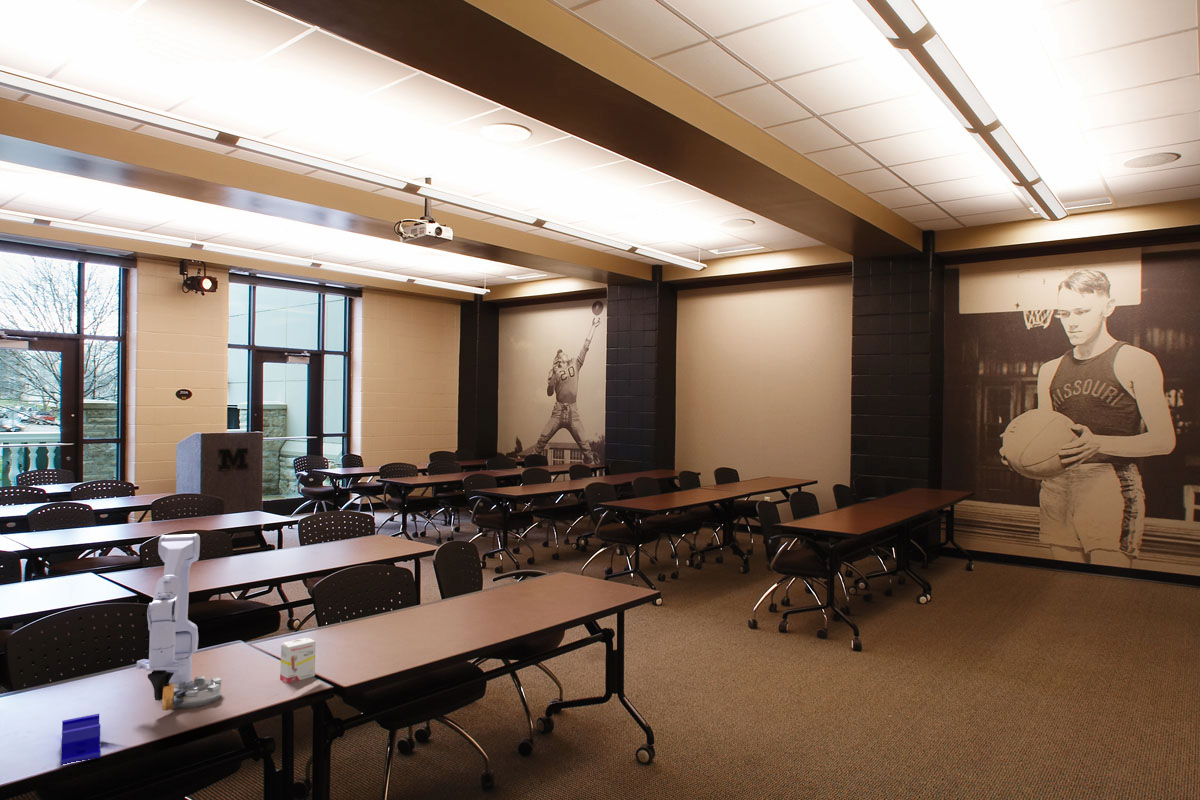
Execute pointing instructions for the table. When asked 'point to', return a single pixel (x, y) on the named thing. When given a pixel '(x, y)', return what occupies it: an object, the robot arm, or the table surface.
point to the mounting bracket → (80, 739)
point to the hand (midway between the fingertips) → (160, 699)
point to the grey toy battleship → (191, 693)
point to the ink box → (297, 660)
